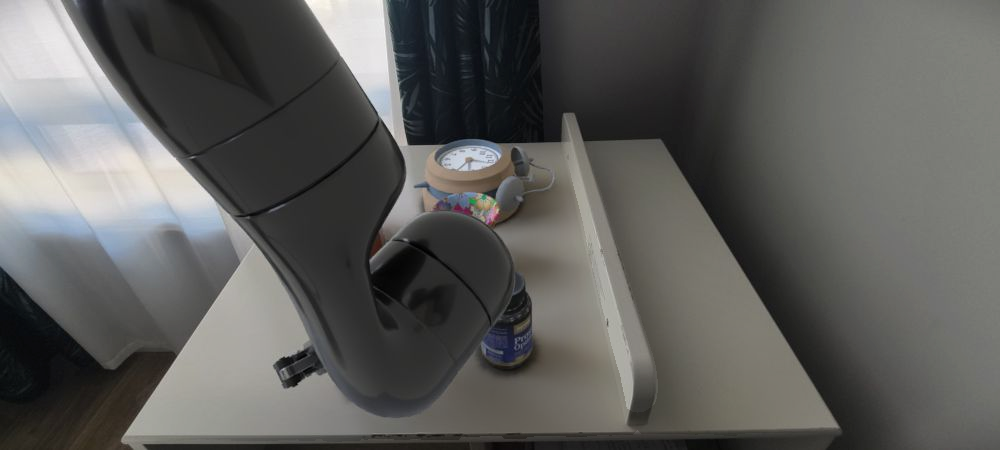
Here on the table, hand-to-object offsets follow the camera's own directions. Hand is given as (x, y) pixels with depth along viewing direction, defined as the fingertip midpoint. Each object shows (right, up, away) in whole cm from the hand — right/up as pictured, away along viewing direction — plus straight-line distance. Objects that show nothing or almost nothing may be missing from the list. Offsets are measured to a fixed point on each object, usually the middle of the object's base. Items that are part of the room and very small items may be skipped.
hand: (343, 342), depth 53 cm
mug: (+13, +5, +17) cm, 22 cm away
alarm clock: (+15, +17, +33) cm, 40 cm away
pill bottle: (+18, -2, +6) cm, 19 cm away
